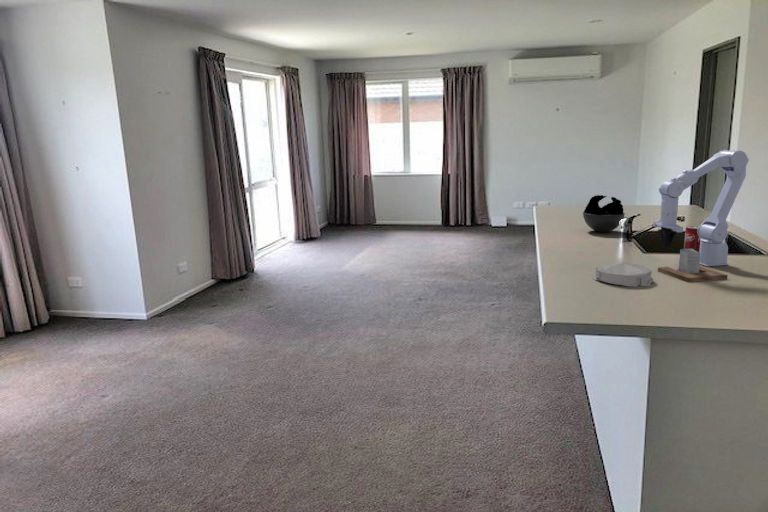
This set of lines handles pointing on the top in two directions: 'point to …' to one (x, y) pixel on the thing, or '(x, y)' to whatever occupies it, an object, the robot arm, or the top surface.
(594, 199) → the coal bowl
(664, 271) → the notched board
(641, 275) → the food container
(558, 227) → the top surface
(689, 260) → the medicine box
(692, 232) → the soda can
